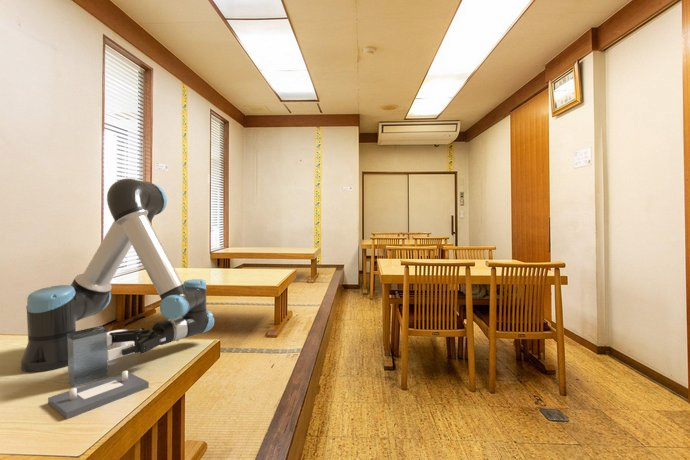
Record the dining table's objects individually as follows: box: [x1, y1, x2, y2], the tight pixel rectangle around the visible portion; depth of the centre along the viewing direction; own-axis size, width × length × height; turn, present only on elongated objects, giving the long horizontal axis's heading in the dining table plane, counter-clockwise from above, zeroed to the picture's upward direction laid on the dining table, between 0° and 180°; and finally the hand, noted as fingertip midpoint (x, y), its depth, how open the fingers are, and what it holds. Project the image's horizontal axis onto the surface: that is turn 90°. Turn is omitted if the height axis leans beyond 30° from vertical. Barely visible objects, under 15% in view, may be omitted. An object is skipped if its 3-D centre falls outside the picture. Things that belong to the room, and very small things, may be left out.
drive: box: [67, 325, 109, 388], centre depth 99 cm, size 4×8×14 cm, turn 146°
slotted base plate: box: [47, 370, 150, 420], centre depth 90 cm, size 12×18×4 cm, turn 146°
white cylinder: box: [107, 328, 129, 350], centre depth 119 cm, size 7×7×7 cm
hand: (96, 350), depth 100 cm, fingers open, 13 cm apart
